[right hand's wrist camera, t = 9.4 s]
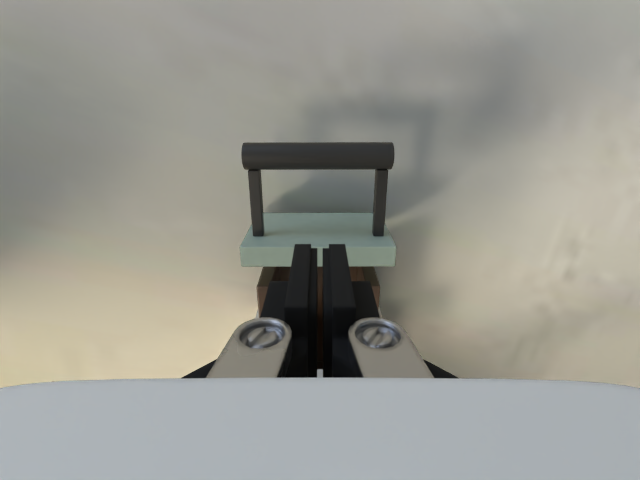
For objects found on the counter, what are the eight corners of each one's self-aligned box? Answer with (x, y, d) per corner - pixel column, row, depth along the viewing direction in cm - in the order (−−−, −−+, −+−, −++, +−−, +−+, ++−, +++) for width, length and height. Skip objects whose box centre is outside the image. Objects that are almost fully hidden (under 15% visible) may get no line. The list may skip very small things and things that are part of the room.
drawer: (252, 134, 23) (230, 147, 18) (384, 134, 23) (405, 146, 18) (267, 359, 30) (255, 421, 24) (370, 359, 30) (382, 421, 24)
